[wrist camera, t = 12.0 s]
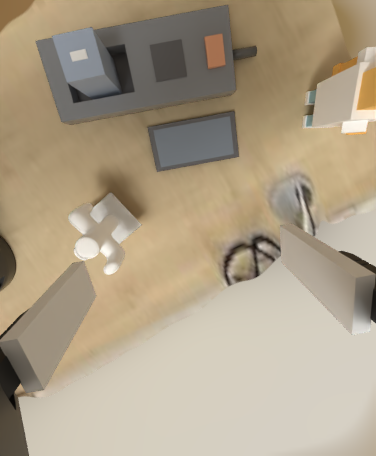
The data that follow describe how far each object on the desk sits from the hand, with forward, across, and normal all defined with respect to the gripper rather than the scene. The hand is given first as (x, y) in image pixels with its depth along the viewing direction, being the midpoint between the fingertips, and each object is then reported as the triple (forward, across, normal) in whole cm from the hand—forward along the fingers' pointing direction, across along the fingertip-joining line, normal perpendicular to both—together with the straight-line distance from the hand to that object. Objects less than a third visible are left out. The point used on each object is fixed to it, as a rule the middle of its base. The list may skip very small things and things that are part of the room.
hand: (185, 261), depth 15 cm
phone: (+27, +4, +8) cm, 28 cm away
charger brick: (+26, -8, +19) cm, 33 cm away
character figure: (+27, +25, +9) cm, 38 cm away
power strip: (+27, 0, +19) cm, 33 cm away
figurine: (+27, -12, -2) cm, 30 cm away
